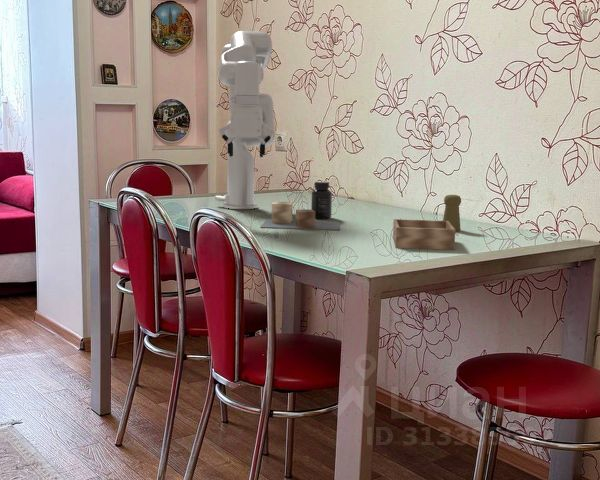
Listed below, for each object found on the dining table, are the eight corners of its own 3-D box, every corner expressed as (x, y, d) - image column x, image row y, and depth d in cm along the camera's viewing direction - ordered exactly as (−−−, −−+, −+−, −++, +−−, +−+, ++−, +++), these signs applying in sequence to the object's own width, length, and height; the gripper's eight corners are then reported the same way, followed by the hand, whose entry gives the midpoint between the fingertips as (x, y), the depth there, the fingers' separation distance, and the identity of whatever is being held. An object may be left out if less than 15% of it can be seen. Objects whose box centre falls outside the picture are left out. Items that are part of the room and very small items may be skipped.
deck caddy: (395, 247, 209) (396, 227, 208) (392, 237, 224) (393, 219, 223) (454, 249, 208) (455, 229, 207) (447, 239, 223) (448, 220, 222)
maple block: (271, 222, 245) (271, 203, 244) (273, 219, 251) (273, 201, 250) (290, 223, 245) (290, 204, 244) (292, 220, 251) (292, 202, 250)
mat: (260, 227, 237) (260, 226, 237) (266, 220, 253) (266, 219, 253) (339, 230, 235) (339, 229, 235) (340, 222, 251) (340, 221, 251)
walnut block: (298, 228, 236) (299, 211, 235) (295, 225, 241) (296, 209, 240) (314, 228, 237) (315, 211, 236) (311, 225, 242) (311, 209, 241)
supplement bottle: (334, 217, 262) (335, 182, 260) (326, 220, 256) (327, 183, 254) (315, 215, 265) (316, 180, 263) (307, 218, 259) (308, 182, 257)
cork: (461, 229, 243) (464, 194, 241) (459, 232, 237) (461, 196, 235) (442, 228, 245) (444, 193, 243) (439, 230, 239) (441, 195, 237)
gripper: (217, 100, 240) (217, 156, 243) (273, 102, 239) (272, 158, 242) (221, 101, 247) (221, 155, 250) (275, 102, 246) (274, 156, 249)
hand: (246, 156), depth 246 cm, fingers open, 9 cm apart
